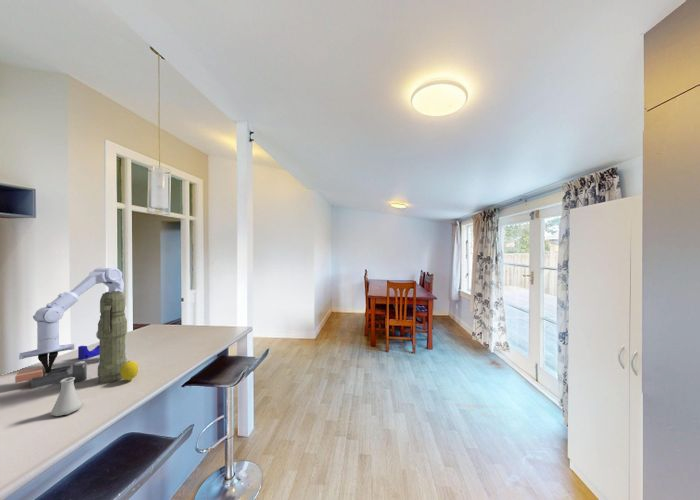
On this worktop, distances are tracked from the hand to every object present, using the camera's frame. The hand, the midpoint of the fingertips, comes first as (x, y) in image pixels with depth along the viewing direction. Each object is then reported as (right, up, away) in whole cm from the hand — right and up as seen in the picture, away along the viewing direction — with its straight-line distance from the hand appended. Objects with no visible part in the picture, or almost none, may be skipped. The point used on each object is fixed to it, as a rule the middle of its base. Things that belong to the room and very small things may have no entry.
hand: (48, 371), depth 107 cm
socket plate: (+2, -3, +2) cm, 4 cm away
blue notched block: (-8, -4, +27) cm, 28 cm away
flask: (+28, -4, -19) cm, 34 cm away
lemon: (+32, -4, 0) cm, 32 cm away
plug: (+12, -4, 0) cm, 12 cm away
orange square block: (-3, -1, -3) cm, 5 cm away
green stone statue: (+24, -4, +2) cm, 24 cm away
